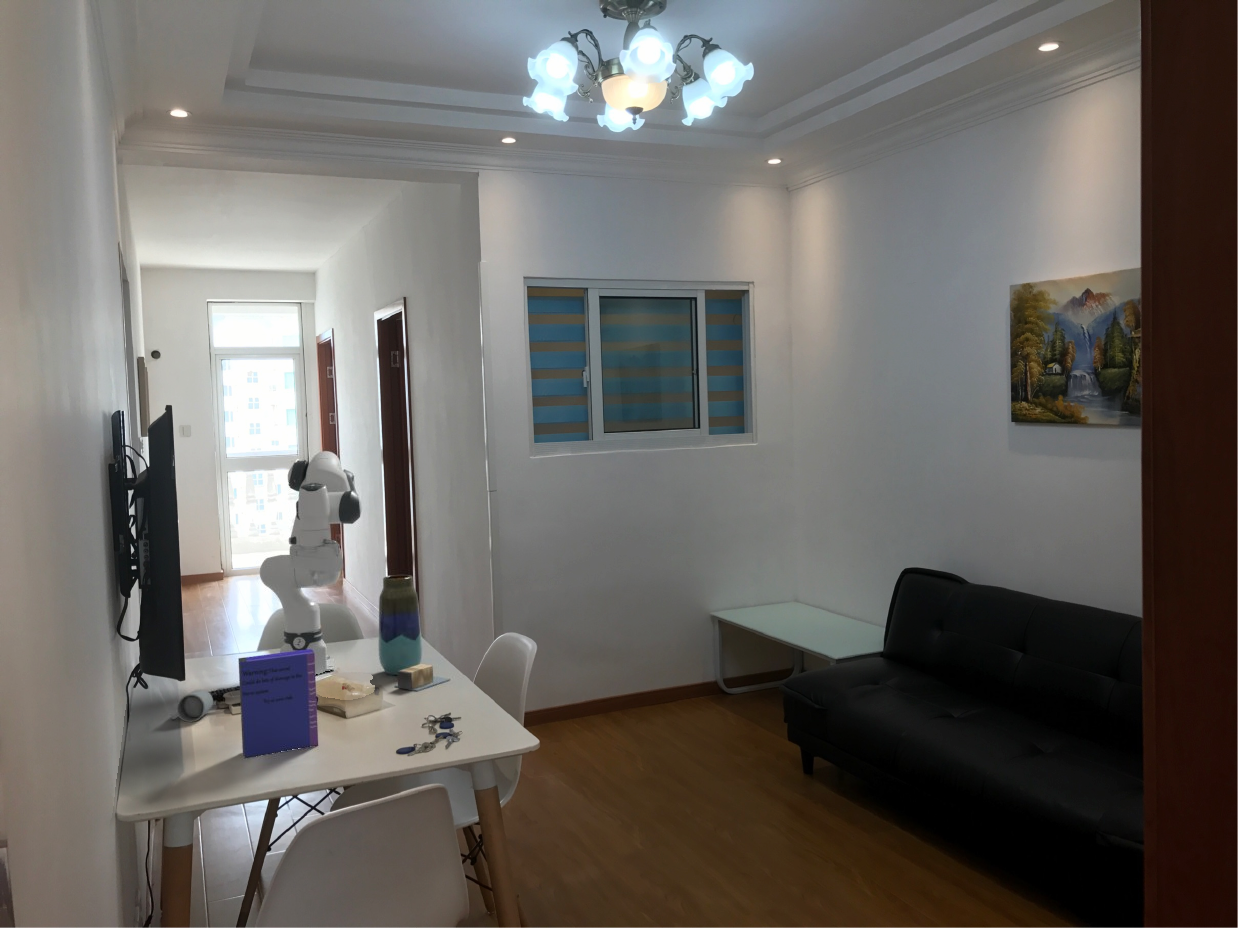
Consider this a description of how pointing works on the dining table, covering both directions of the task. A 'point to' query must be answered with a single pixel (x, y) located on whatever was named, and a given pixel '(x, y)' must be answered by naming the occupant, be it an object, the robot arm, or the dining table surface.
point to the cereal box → (278, 702)
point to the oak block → (415, 676)
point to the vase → (399, 625)
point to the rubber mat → (435, 681)
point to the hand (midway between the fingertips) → (317, 585)
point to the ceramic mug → (193, 706)
